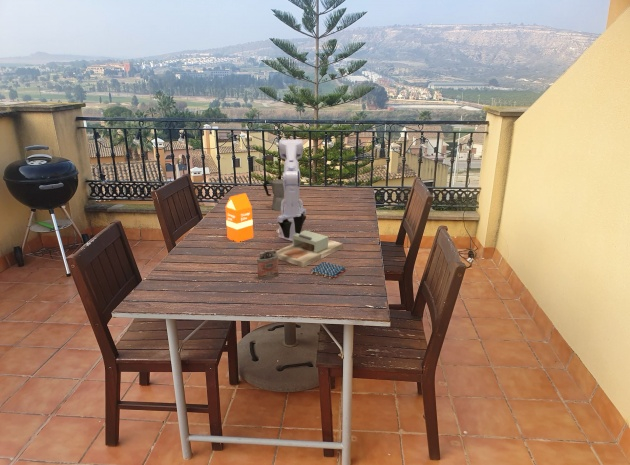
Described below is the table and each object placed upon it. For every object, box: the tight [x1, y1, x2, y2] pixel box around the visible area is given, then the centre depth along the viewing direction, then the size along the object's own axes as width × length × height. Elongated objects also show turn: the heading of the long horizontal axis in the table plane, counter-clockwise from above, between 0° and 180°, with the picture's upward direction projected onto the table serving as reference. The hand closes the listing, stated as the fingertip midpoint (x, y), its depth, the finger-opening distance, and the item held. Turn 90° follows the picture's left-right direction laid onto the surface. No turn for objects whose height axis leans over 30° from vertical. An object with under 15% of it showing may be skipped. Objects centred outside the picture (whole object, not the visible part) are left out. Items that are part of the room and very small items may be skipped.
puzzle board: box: [273, 239, 344, 268], centre depth 190 cm, size 16×26×2 cm, turn 141°
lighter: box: [256, 249, 280, 280], centre depth 168 cm, size 8×3×10 cm, turn 117°
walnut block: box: [303, 242, 314, 251], centre depth 191 cm, size 4×4×4 cm
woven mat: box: [309, 261, 347, 280], centre depth 173 cm, size 10×11×2 cm
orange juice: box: [225, 192, 254, 243], centre depth 204 cm, size 8×9×20 cm
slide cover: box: [292, 229, 329, 253], centre depth 190 cm, size 12×8×6 cm, turn 51°
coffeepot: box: [262, 175, 284, 212], centre depth 247 cm, size 15×9×18 cm, turn 103°
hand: (292, 235), depth 180 cm, fingers open, 6 cm apart
